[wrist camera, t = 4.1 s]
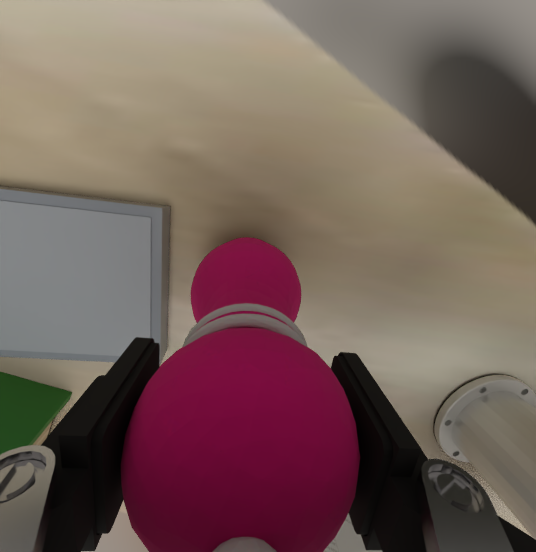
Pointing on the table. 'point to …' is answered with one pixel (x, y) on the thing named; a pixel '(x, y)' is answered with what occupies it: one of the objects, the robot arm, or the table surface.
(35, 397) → the hardback book
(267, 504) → the pepper mill
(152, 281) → the slate stand
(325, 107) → the table surface
